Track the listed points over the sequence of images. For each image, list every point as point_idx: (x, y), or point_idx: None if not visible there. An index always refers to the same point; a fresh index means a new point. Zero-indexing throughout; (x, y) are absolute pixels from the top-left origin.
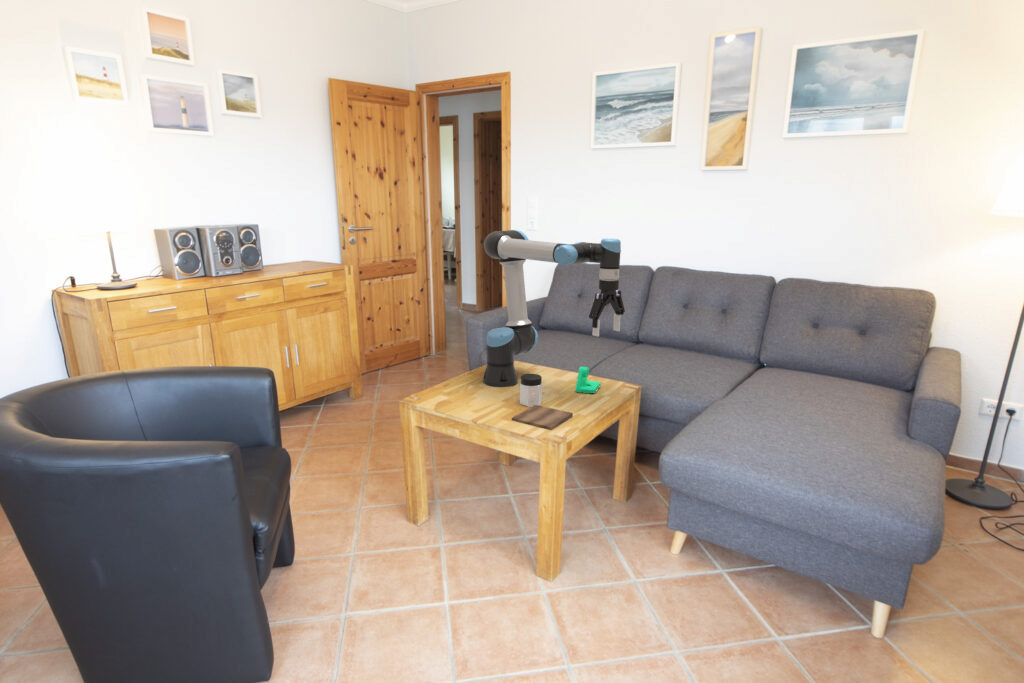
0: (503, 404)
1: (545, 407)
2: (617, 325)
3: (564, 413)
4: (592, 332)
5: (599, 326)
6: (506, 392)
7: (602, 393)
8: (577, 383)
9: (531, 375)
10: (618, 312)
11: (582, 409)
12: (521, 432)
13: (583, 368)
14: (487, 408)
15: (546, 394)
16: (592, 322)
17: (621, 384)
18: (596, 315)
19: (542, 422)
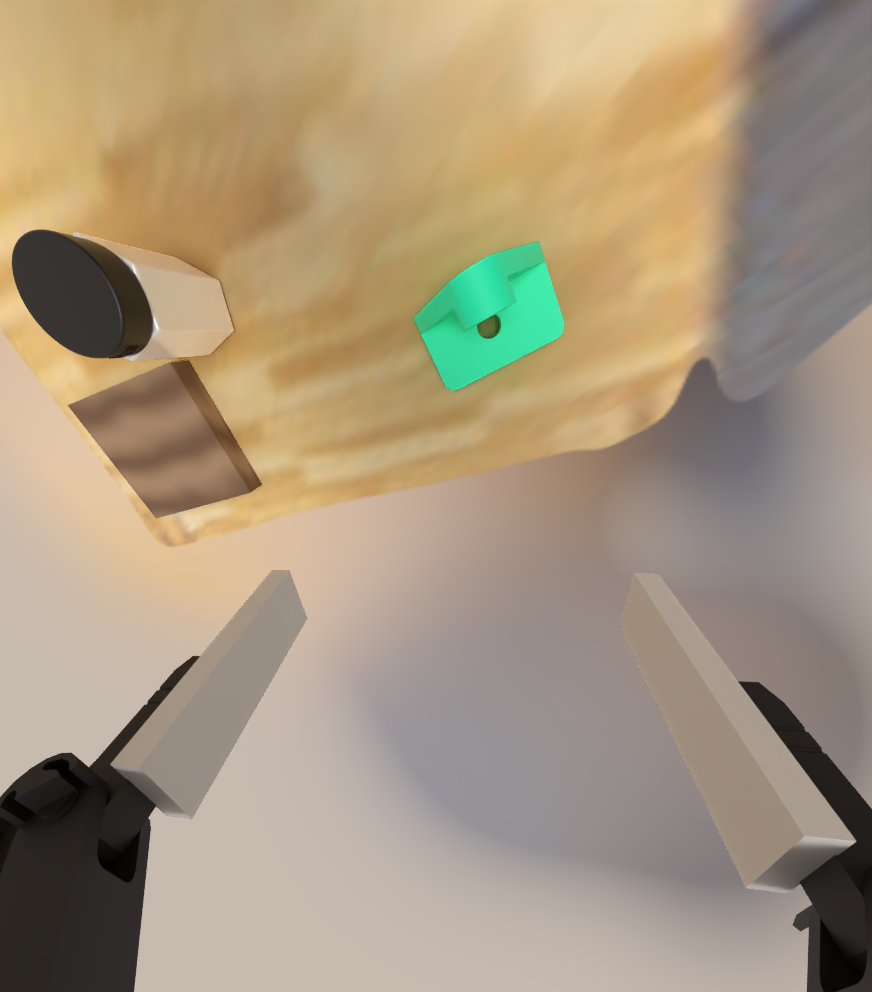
0: (97, 212)
1: (195, 408)
2: (652, 670)
3: (227, 480)
4: (255, 591)
5: (250, 712)
6: (147, 35)
7: (500, 392)
8: (422, 315)
9: (73, 281)
10: (860, 956)
11: (330, 452)
12: (105, 457)
13: (466, 302)
14: (27, 208)
15: (310, 232)
16: (128, 723)
17: (661, 366)
18: (90, 884)
19: (144, 485)
